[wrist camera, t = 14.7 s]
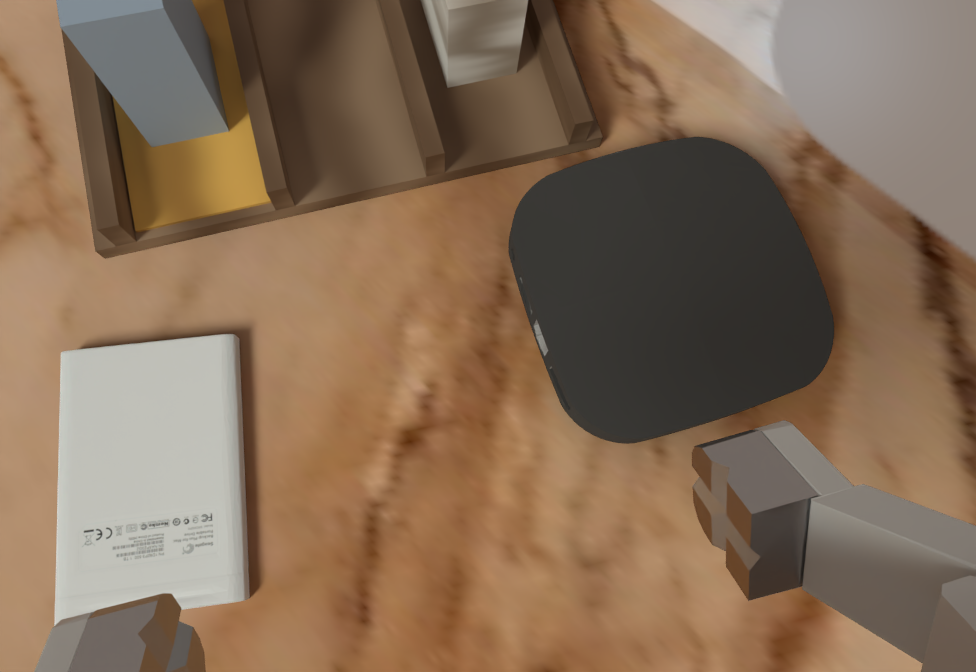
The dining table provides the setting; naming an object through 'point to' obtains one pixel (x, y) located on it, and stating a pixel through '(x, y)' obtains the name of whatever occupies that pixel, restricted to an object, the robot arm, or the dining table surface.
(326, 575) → the dining table surface
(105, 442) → the external hard drive
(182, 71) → the grey rectangular block
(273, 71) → the rack
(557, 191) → the media streaming box
